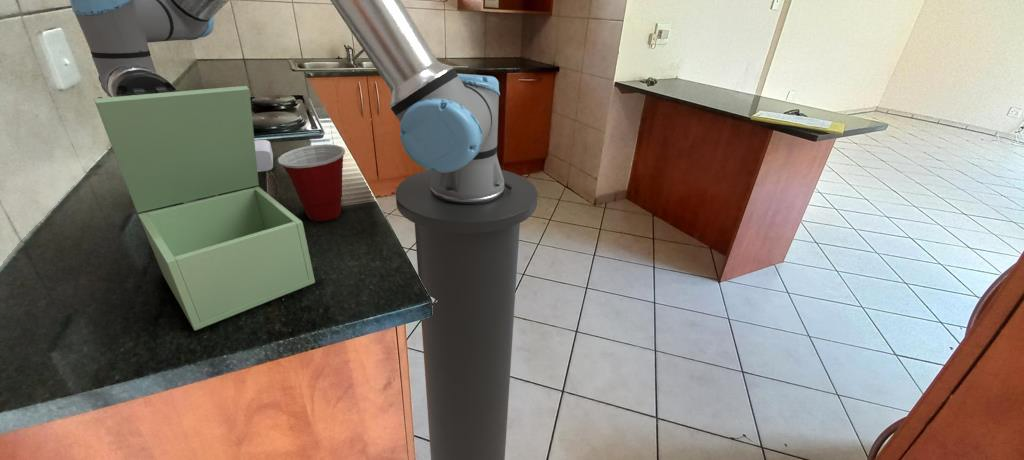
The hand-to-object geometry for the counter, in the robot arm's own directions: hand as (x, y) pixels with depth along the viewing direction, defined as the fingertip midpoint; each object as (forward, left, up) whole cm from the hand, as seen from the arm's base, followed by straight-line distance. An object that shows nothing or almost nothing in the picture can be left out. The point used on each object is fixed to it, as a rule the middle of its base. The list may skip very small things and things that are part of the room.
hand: (183, 125), depth 53 cm
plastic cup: (-12, -15, -21) cm, 29 cm away
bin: (-2, +4, -21) cm, 21 cm away
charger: (+5, -48, -21) cm, 52 cm away
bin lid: (0, 0, -3) cm, 3 cm away
